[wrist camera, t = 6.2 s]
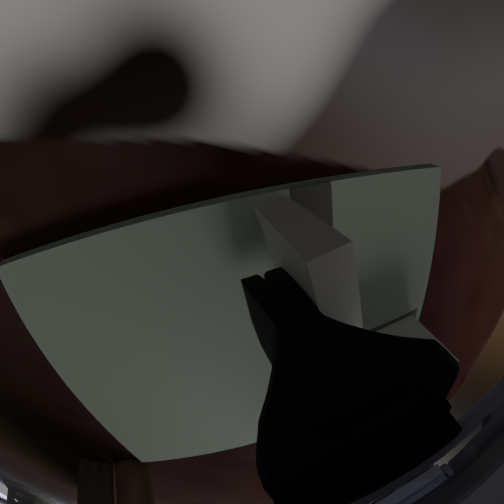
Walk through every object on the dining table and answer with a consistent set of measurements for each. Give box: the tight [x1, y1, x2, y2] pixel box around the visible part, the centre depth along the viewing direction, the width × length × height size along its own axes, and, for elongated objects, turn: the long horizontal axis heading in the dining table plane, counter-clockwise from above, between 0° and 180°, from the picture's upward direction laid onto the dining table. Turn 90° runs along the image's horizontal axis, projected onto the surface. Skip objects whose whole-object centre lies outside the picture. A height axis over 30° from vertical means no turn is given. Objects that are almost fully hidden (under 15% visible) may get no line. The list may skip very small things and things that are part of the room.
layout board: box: [0, 164, 441, 462], centre depth 15 cm, size 18×22×1 cm
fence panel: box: [254, 195, 363, 328], centre depth 10 cm, size 9×1×4 cm, turn 19°
